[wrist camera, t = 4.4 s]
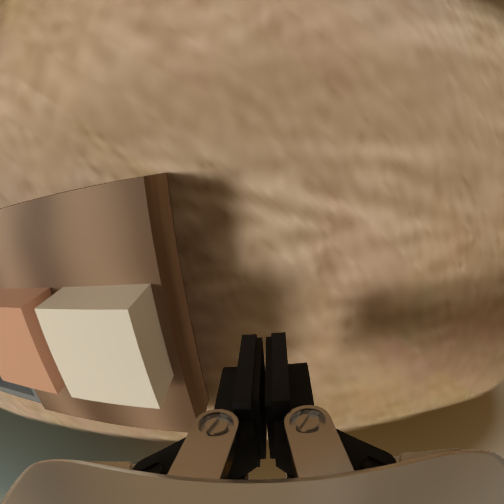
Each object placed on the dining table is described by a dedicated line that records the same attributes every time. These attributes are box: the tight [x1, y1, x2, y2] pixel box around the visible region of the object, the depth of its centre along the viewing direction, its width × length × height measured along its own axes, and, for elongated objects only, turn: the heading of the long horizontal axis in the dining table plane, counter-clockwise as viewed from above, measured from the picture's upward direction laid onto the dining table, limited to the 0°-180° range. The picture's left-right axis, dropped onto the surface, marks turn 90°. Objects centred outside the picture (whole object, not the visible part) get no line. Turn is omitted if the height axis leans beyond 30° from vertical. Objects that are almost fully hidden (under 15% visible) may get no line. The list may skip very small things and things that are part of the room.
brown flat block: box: [0, 173, 209, 432], centre depth 16 cm, size 12×14×3 cm
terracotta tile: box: [0, 288, 65, 394], centre depth 13 cm, size 5×5×2 cm
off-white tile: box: [34, 284, 174, 409], centre depth 13 cm, size 5×5×2 cm
